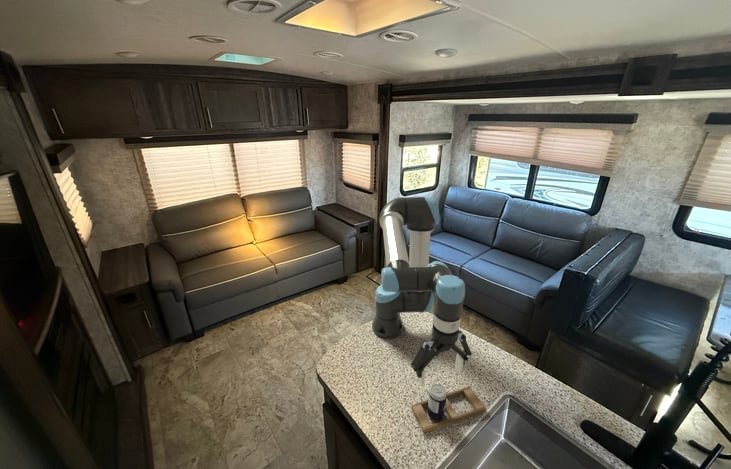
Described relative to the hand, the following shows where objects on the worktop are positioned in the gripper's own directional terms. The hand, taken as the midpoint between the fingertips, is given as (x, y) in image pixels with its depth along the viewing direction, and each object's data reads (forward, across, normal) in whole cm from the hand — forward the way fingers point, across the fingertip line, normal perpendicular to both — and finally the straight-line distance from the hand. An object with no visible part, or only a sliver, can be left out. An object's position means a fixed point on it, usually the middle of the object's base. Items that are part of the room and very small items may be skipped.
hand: (439, 377), depth 92 cm
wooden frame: (+18, +5, 0) cm, 19 cm away
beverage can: (+18, 0, 0) cm, 18 cm away
